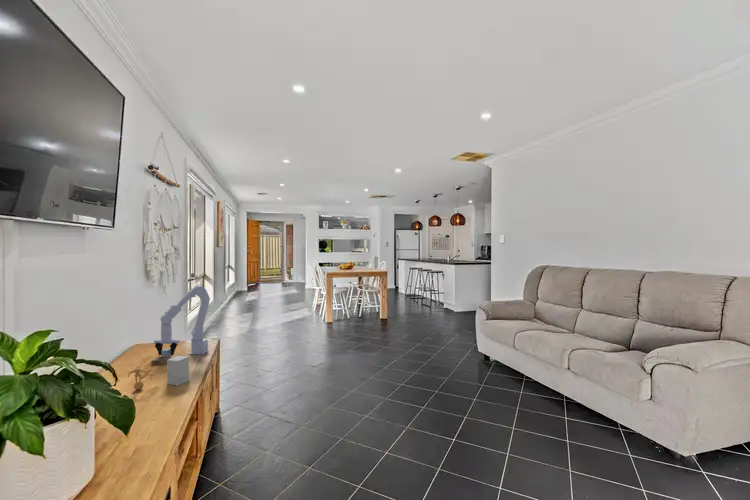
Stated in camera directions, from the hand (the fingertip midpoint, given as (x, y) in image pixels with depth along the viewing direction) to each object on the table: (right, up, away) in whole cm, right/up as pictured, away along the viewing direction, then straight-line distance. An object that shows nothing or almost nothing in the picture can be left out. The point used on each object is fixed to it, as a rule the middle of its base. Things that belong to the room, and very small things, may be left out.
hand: (166, 355), depth 224 cm
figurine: (+16, -3, -51) cm, 53 cm away
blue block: (0, -2, 0) cm, 2 cm away
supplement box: (+30, -2, -40) cm, 50 cm away
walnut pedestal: (+3, -2, -10) cm, 11 cm away
